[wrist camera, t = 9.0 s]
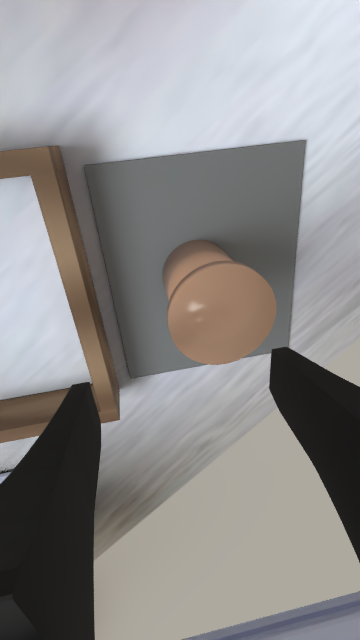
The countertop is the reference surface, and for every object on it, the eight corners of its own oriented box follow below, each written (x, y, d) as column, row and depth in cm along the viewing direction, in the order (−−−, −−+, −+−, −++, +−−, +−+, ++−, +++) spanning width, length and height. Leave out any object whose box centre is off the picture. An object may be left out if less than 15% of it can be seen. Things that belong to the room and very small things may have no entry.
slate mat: (286, 348, 25) (287, 349, 25) (130, 376, 24) (130, 378, 23) (303, 140, 18) (305, 140, 18) (84, 165, 17) (83, 165, 16)
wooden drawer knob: (236, 304, 22) (273, 355, 17) (160, 316, 21) (174, 372, 16) (236, 227, 19) (279, 258, 14) (150, 239, 19) (163, 275, 14)
